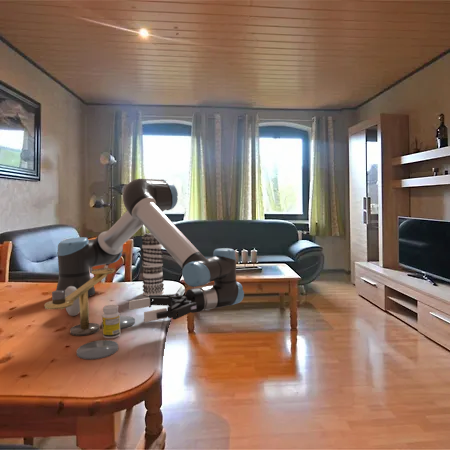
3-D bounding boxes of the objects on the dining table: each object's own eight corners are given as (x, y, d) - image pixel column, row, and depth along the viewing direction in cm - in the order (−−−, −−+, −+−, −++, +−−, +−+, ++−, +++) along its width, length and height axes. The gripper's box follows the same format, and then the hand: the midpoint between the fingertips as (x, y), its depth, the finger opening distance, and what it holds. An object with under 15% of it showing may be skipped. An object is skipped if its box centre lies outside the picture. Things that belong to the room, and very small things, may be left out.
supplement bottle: (105, 332, 103) (104, 304, 103) (122, 332, 104) (120, 303, 103) (101, 339, 98) (99, 309, 98) (118, 338, 99) (117, 308, 98)
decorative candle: (138, 295, 143) (136, 234, 142) (147, 290, 153) (145, 232, 151) (160, 296, 142) (158, 234, 140) (167, 290, 151) (165, 232, 150)
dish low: (67, 356, 87) (67, 353, 87) (94, 341, 97) (94, 338, 97) (101, 361, 84) (101, 358, 84) (126, 345, 94) (125, 342, 94)
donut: (63, 313, 122) (61, 284, 122) (73, 311, 125) (72, 283, 124) (72, 320, 115) (70, 289, 114) (83, 317, 117) (81, 288, 116)
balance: (39, 346, 94) (35, 285, 93) (101, 316, 119) (99, 267, 117) (63, 350, 91) (60, 287, 90) (122, 318, 116) (120, 268, 115)
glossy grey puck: (94, 327, 108) (94, 325, 107) (114, 317, 117) (114, 314, 117) (123, 330, 104) (122, 328, 104) (141, 319, 114) (141, 317, 114)
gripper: (220, 321, 105) (152, 336, 94) (183, 301, 126) (124, 312, 115) (220, 296, 105) (151, 308, 93) (183, 281, 126) (123, 289, 114)
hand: (136, 311), depth 104 cm, fingers open, 13 cm apart
